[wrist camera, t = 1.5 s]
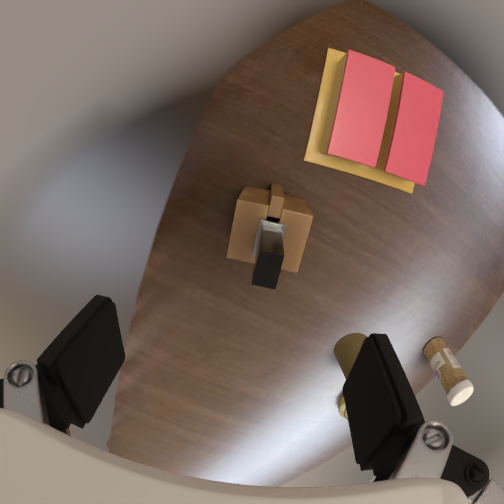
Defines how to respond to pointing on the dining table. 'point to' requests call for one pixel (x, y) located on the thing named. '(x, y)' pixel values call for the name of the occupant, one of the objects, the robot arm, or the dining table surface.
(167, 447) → the dining table surface
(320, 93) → the cake
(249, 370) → the dining table surface
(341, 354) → the olive brown pawn
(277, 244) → the knife
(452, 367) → the sprinkles bottle
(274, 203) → the knife block
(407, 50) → the dining table surface
